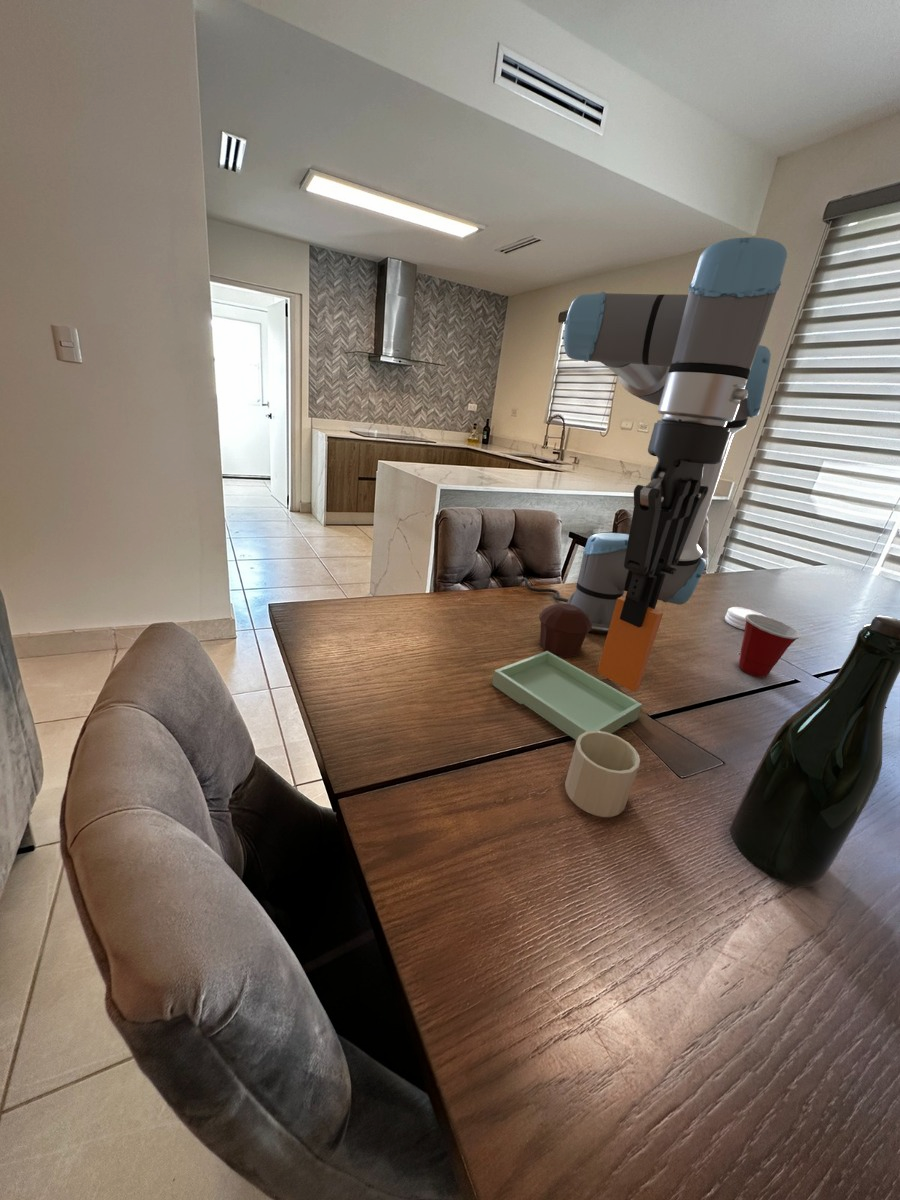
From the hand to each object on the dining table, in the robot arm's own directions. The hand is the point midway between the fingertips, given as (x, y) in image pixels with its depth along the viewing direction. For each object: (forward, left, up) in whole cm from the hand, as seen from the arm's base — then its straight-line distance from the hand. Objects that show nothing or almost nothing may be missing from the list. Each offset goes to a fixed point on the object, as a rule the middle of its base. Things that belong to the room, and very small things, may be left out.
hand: (635, 620), depth 59 cm
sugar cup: (+3, -2, -26) cm, 26 cm away
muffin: (-28, +30, -26) cm, 49 cm away
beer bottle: (+22, +10, -26) cm, 35 cm away
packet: (0, 0, -9) cm, 9 cm away
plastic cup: (+2, +63, -26) cm, 68 cm away
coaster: (-10, +91, -26) cm, 95 cm away
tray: (-14, +13, -26) cm, 32 cm away
